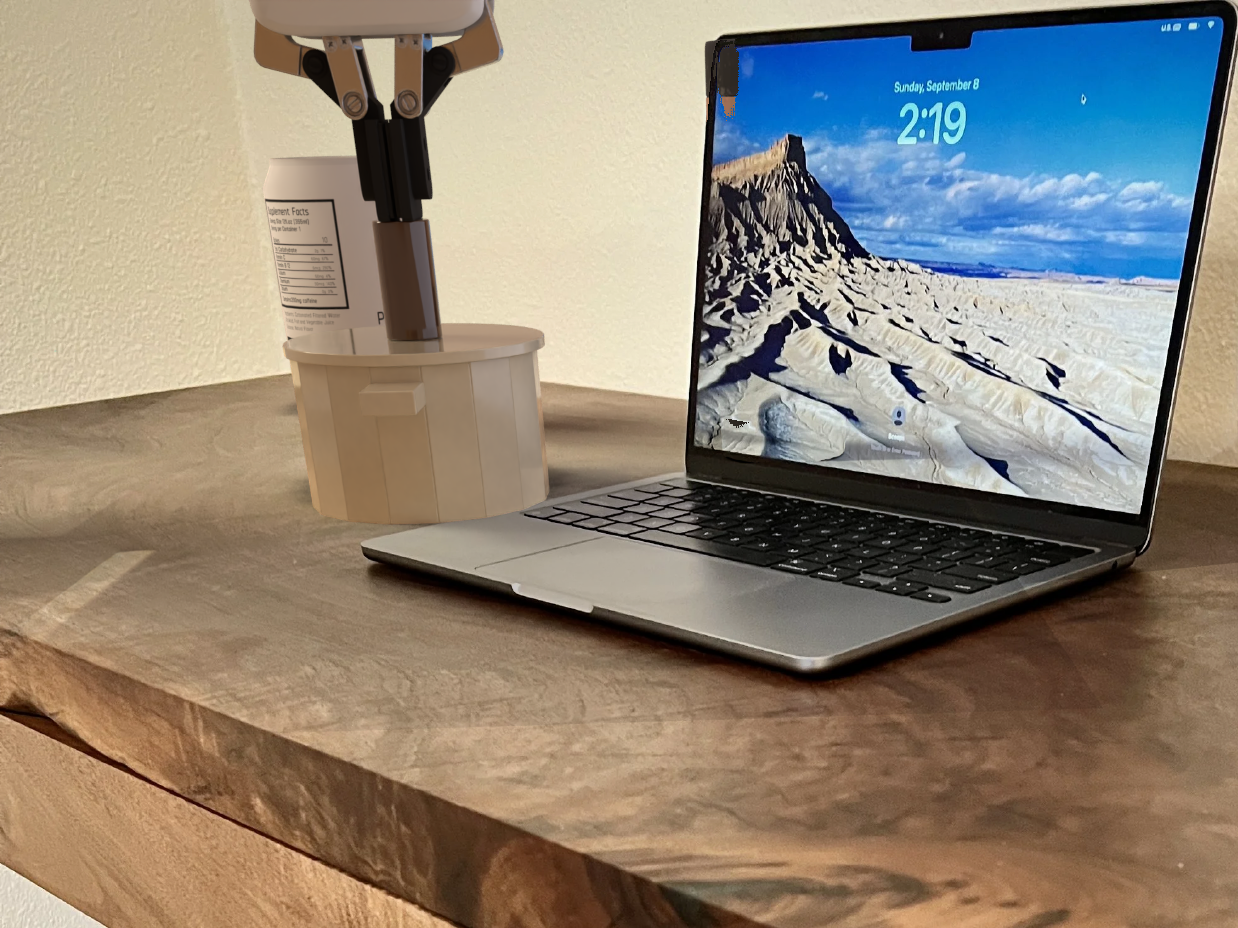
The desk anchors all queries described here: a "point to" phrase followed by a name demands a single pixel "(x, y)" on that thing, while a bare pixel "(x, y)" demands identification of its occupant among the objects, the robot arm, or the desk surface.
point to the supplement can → (322, 244)
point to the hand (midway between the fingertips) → (401, 218)
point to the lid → (411, 316)
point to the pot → (423, 440)
